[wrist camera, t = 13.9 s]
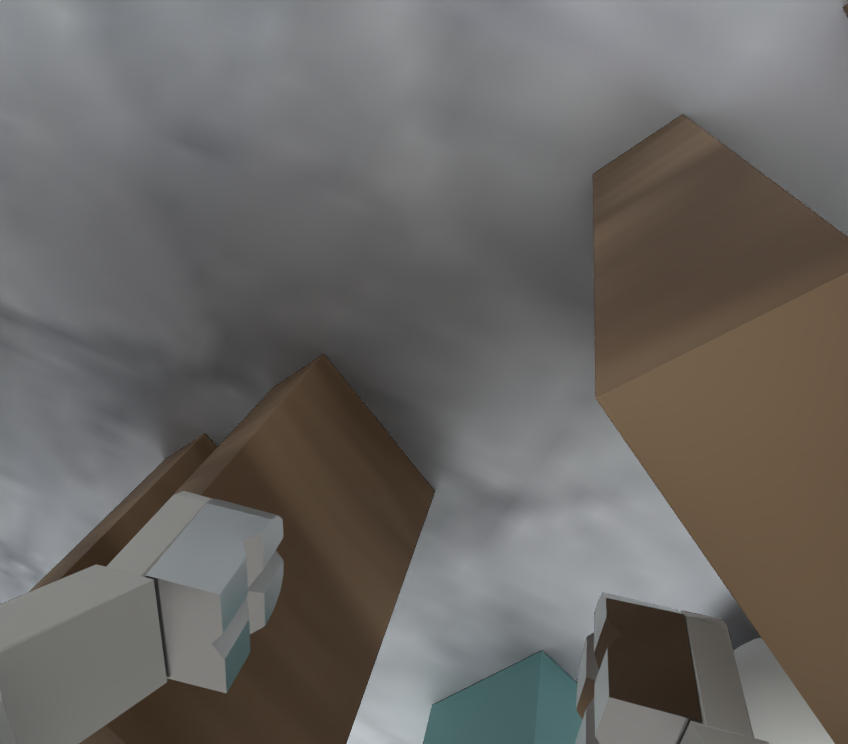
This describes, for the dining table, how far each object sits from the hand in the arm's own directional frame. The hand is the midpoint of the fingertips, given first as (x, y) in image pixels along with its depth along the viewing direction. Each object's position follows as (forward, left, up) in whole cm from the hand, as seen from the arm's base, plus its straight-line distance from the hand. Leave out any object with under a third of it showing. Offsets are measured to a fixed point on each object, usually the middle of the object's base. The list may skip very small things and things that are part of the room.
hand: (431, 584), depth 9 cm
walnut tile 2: (+3, +4, -8) cm, 9 cm away
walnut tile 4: (-2, -4, -8) cm, 9 cm away
